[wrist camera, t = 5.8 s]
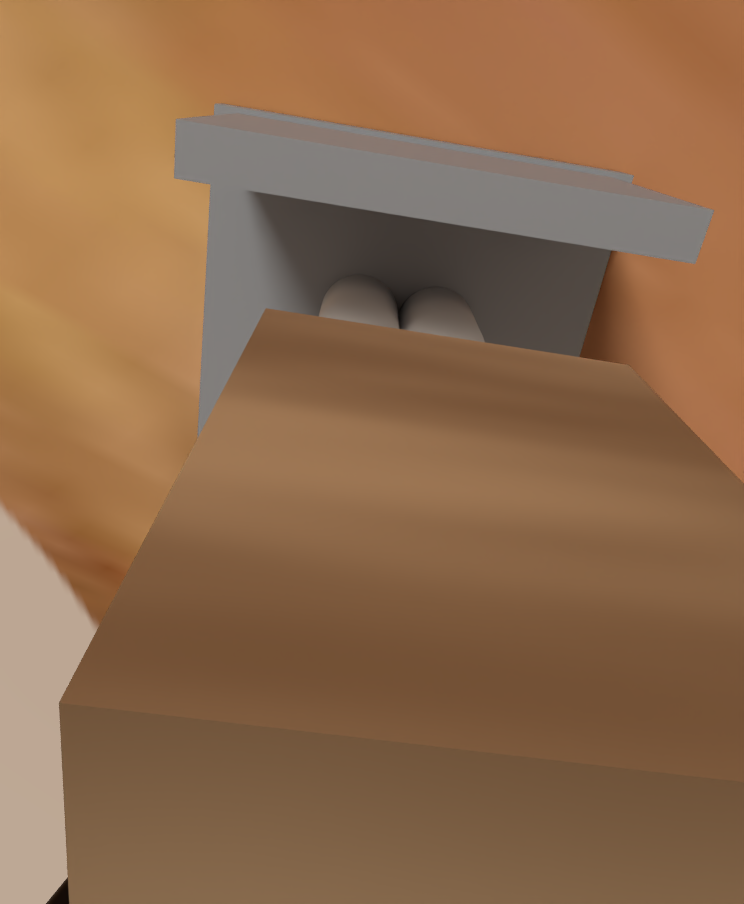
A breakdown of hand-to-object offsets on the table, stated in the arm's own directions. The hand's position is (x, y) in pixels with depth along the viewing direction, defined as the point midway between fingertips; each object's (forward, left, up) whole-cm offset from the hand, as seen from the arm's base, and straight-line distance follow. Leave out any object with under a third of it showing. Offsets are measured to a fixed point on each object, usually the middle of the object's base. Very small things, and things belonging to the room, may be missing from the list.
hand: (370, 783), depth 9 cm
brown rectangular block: (0, 0, -1) cm, 1 cm away
